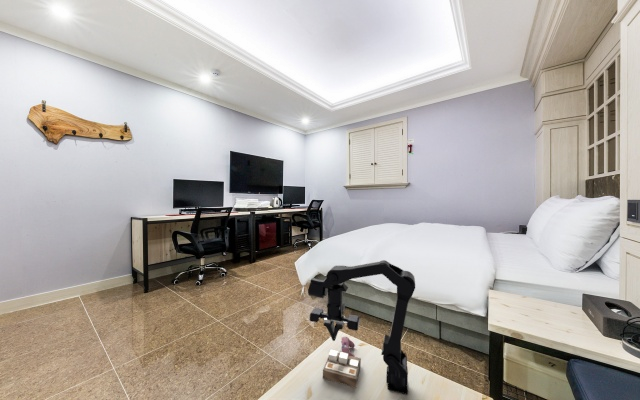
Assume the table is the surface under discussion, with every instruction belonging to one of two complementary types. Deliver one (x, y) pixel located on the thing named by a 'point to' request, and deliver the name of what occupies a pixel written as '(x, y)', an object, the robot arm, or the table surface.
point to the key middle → (343, 358)
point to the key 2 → (354, 363)
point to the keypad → (342, 371)
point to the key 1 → (333, 355)
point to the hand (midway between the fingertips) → (334, 340)
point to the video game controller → (347, 345)
